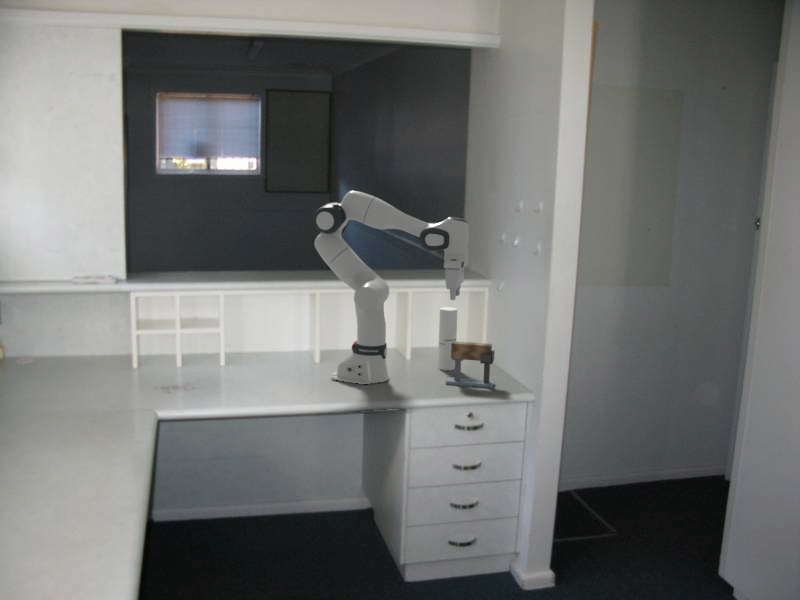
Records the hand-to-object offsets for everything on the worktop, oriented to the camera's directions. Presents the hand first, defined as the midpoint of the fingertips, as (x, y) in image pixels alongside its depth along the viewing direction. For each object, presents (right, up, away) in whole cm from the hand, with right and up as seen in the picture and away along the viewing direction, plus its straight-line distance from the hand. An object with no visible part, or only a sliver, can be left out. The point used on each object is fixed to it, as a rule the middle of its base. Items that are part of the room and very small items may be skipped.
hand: (454, 297), depth 299 cm
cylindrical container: (-1, -29, +31) cm, 42 cm away
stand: (+6, -33, +9) cm, 35 cm away
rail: (+7, -23, +7) cm, 25 cm away
